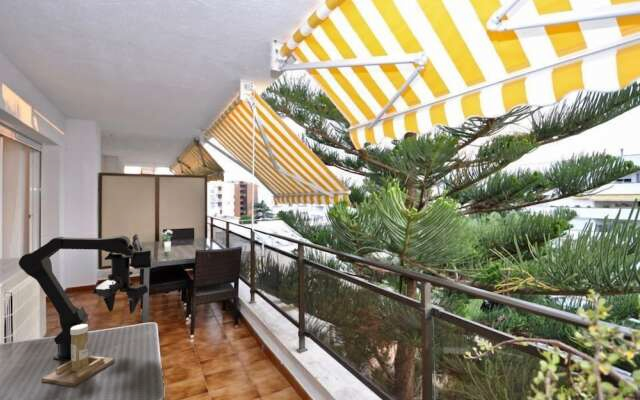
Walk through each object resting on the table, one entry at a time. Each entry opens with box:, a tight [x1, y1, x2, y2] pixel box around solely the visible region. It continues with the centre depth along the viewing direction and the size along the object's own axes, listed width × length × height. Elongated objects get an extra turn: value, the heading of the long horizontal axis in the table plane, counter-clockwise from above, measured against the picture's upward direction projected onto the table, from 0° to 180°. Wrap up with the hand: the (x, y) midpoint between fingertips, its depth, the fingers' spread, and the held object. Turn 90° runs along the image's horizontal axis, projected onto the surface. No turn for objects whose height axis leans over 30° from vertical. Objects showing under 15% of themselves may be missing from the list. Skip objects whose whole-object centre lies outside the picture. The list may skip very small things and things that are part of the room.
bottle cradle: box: [41, 354, 115, 387], centre depth 100 cm, size 12×14×2 cm
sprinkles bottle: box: [70, 323, 89, 371], centre depth 99 cm, size 5×5×14 cm
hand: (121, 312), depth 115 cm, fingers open, 9 cm apart
